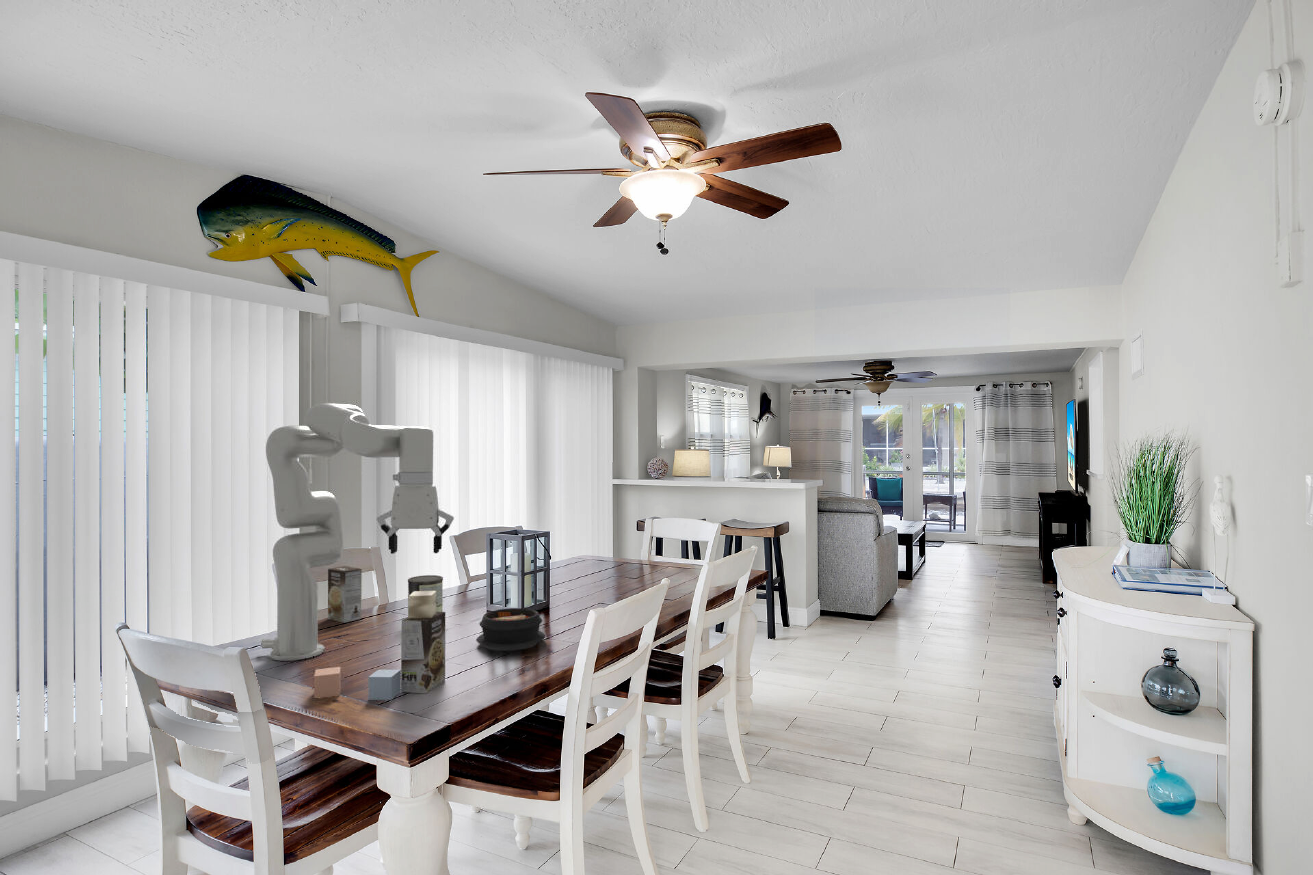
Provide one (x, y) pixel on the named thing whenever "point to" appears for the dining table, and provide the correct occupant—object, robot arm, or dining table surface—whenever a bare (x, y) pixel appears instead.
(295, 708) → the dining table surface
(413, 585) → the coffee can
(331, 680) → the terracotta block
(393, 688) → the slate block
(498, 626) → the casserole
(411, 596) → the maple cube
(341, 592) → the coffee box
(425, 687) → the coffee box
